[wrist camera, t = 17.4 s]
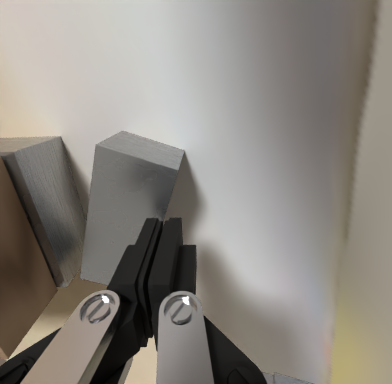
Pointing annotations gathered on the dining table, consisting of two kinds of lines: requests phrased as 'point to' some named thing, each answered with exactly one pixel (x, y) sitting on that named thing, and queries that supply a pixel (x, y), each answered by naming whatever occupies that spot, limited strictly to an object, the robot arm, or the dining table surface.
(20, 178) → the bar
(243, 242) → the dining table surface
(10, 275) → the board
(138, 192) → the bar
